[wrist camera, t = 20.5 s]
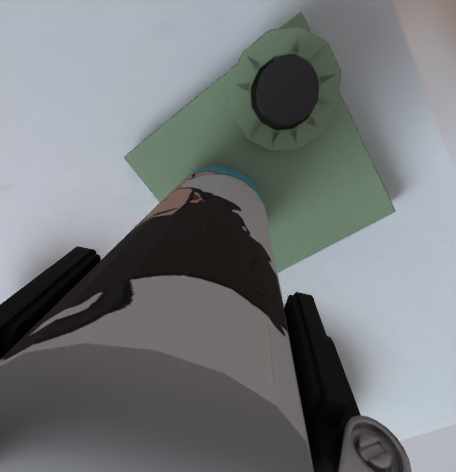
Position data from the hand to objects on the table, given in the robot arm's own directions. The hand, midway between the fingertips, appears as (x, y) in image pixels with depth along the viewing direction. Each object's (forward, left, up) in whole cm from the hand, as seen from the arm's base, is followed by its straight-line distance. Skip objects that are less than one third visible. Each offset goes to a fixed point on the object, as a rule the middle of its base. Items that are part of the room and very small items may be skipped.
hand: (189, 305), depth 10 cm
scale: (-2, +3, -13) cm, 13 cm away
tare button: (-8, +2, -10) cm, 13 cm away
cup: (0, 0, -10) cm, 10 cm away
